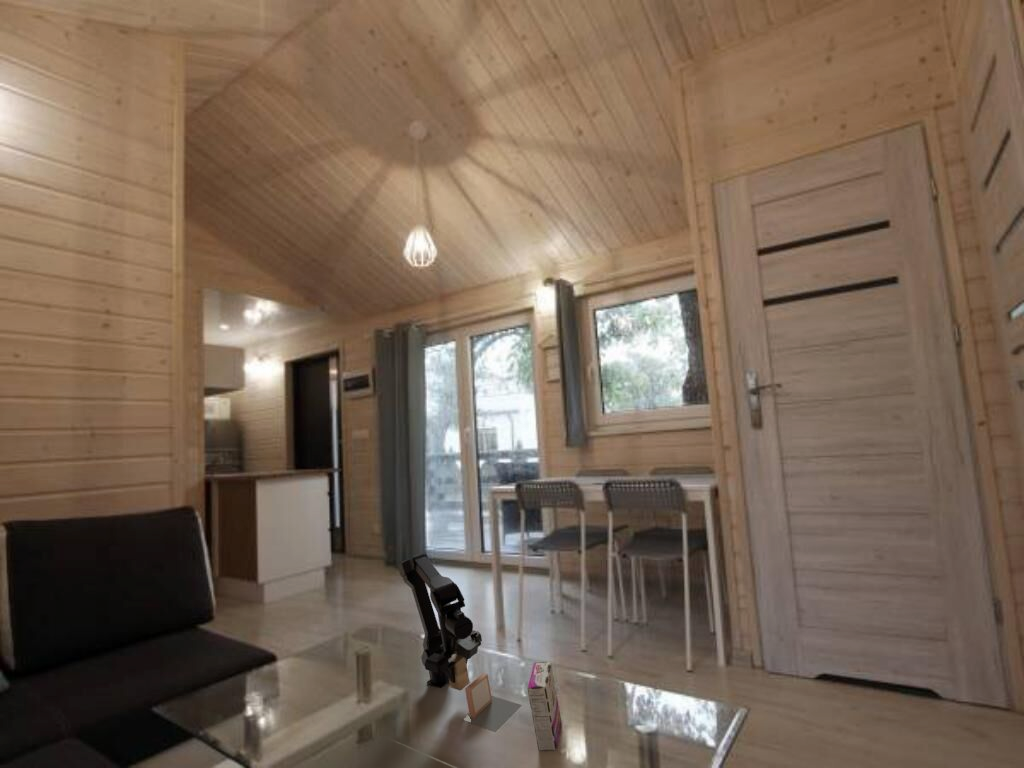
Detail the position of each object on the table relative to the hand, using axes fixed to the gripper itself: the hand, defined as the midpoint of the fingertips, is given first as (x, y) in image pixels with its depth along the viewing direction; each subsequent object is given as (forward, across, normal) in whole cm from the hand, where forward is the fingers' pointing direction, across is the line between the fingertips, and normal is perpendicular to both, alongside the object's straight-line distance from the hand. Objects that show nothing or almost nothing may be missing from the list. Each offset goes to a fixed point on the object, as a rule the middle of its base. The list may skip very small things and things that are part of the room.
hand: (458, 678), depth 160 cm
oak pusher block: (+2, 0, 0) cm, 2 cm away
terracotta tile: (+7, 0, -7) cm, 10 cm away
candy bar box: (+8, -1, -31) cm, 32 cm away
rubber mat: (+7, 0, -11) cm, 13 cm away
